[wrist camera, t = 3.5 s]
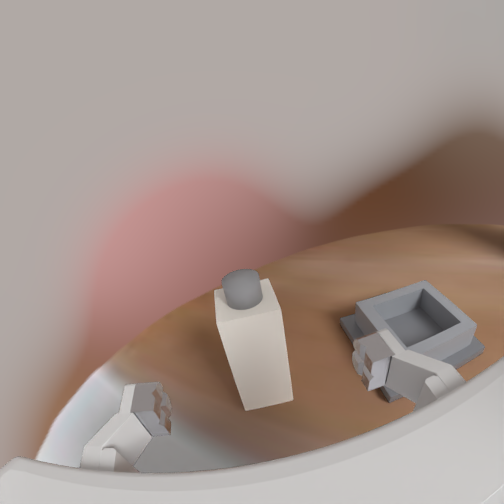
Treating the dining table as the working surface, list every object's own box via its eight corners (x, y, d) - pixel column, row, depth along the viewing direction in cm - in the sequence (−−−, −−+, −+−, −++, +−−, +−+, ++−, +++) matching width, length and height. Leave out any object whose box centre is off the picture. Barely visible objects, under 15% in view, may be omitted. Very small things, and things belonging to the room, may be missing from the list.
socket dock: (423, 295, 37) (426, 272, 35) (482, 352, 24) (492, 327, 23) (339, 324, 36) (339, 299, 35) (389, 403, 23) (395, 378, 22)
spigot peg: (282, 367, 31) (265, 258, 26) (293, 400, 27) (277, 287, 21) (239, 377, 31) (208, 270, 25) (245, 411, 26) (209, 302, 21)
